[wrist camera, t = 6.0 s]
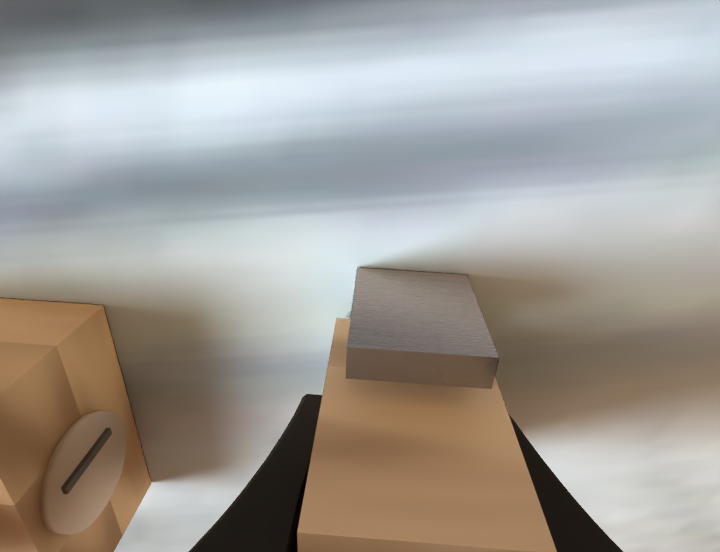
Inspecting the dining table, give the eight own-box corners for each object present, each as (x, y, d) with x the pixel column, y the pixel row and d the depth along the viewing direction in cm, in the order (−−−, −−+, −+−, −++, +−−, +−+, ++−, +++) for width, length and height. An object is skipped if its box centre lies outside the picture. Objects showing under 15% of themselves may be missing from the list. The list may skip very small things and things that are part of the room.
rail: (408, 588, 19) (414, 698, 15) (341, 583, 19) (332, 691, 15) (467, 274, 11) (499, 358, 8) (357, 267, 12) (346, 346, 8)
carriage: (451, 451, 14) (493, 695, 9) (333, 443, 14) (301, 678, 9) (478, 328, 12) (556, 552, 6) (336, 318, 12) (296, 532, 7)
